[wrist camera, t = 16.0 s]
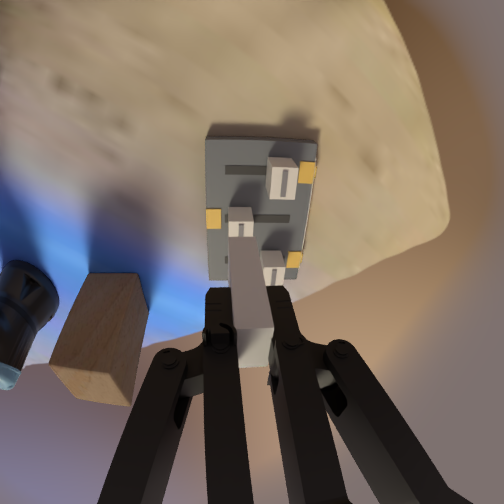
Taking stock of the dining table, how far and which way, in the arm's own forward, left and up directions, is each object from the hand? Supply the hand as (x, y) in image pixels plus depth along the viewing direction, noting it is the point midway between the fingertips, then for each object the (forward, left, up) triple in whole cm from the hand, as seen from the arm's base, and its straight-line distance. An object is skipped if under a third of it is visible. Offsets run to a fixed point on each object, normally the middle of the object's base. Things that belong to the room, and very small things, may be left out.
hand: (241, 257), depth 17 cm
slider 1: (+1, -9, -21) cm, 23 cm away
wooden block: (-20, -25, -24) cm, 40 cm away
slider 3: (+6, -16, -21) cm, 27 cm away
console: (+4, -9, -24) cm, 26 cm away
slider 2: (+6, -2, -21) cm, 22 cm away
